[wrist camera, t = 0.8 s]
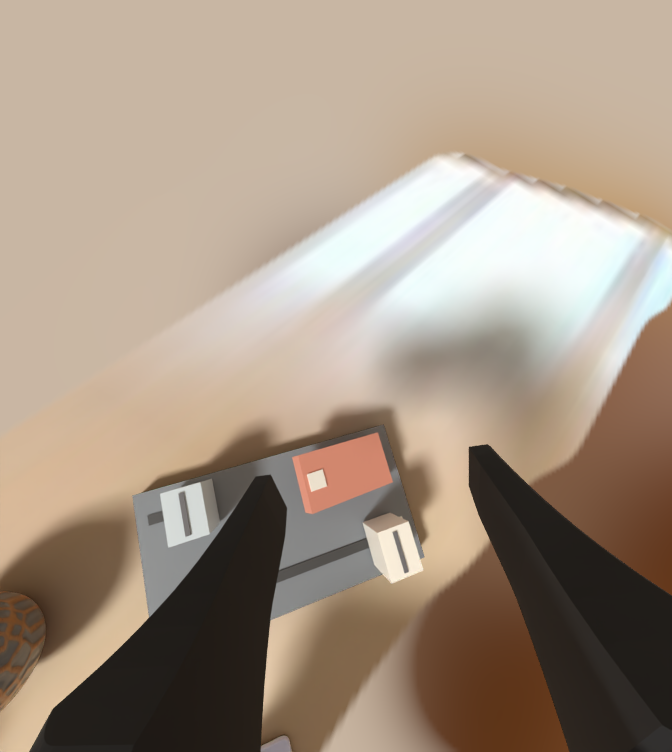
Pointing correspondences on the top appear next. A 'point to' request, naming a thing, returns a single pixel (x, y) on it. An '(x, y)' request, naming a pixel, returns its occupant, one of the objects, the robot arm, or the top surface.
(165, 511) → the slotted white box
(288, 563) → the console
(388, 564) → the slotted cream block
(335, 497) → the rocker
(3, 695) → the vase
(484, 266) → the top surface
